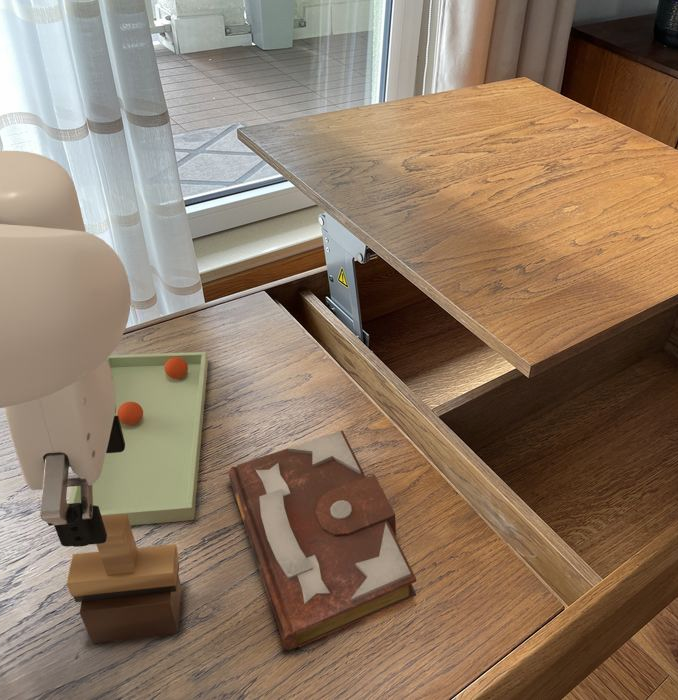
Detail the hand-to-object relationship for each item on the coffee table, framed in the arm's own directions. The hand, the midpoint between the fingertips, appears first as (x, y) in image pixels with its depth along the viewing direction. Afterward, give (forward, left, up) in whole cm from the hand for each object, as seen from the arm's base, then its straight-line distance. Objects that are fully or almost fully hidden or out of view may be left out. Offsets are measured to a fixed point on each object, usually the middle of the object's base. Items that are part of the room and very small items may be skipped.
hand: (96, 493), depth 60 cm
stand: (+1, 0, -21) cm, 21 cm away
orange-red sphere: (+36, -1, -19) cm, 41 cm away
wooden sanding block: (+1, 0, -15) cm, 15 cm away
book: (+8, -19, -21) cm, 29 cm away
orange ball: (+28, +4, -19) cm, 34 cm away
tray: (+26, +2, -21) cm, 33 cm away
